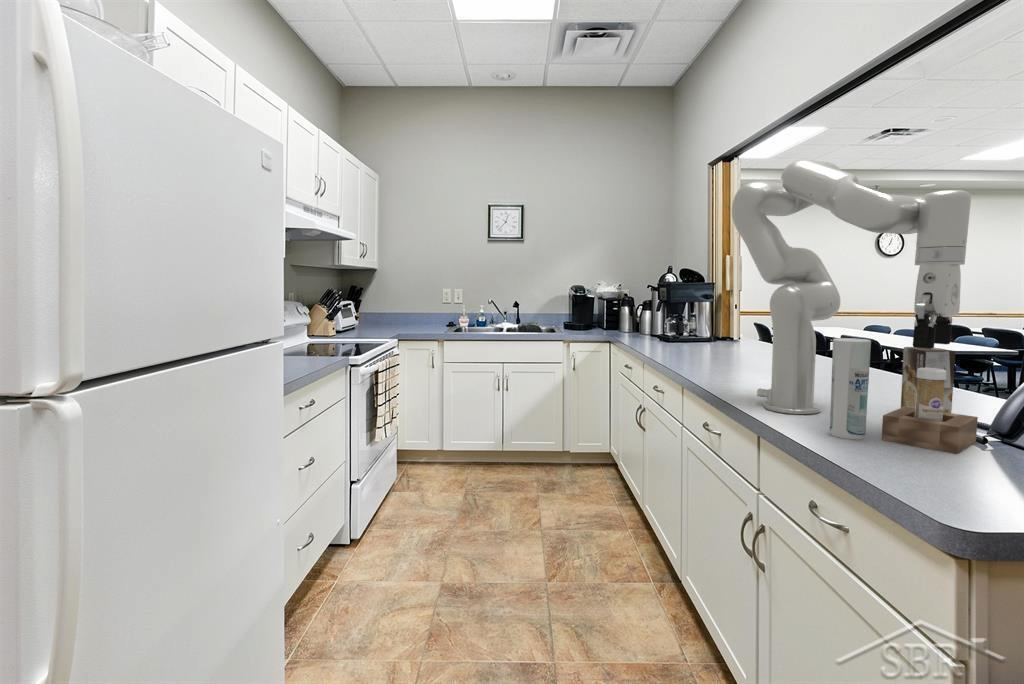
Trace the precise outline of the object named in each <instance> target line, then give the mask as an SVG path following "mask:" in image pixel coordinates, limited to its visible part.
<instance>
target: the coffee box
mask: <svg viewBox="0 0 1024 684" xmlns="http://www.w3.org/2000/svg"><path fill="white" fill-rule="evenodd" d="M902 353H903V355H902V356H903V357H902V376H901V396H900V397H901V398H900V408H902V407H911V408H915V399H916V392H917V377H916V376H917V369H918V368H938V369H944V370H946V379H945V382H944V383H945V384H944V400H943V412H946V413H952V410H953V409H952V407H953V394H954V378H955V377H954V376H955V363H956V350H950V349H945V348H939V347H934V348H932V349H929V348H917V347H913V346H905V347H903V352H902Z"/></svg>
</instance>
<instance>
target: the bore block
mask: <svg viewBox="0 0 1024 684" xmlns="http://www.w3.org/2000/svg"><path fill="white" fill-rule="evenodd" d="M914 415H915V408H911V407H902V408H901V407H900V408H898V409H895V410H893V411H890V412H888V413H885V414H883V415H882V422H881V423H882V425H881V428H882V429H881V440H883V441H888V442H893V443H897V444H898V443H899V444H903V445H909V446H913V447H919V448H923V449H924V448H925V449H930V450H935V451H939V452H944V453H951V454H956V455H959V453H961V452H963V451H964V450H966V449H968V448H969V447H970V446H972V445H973V444H975V443H976V442H977V432H978V418H979V416H972V415H965V414H959V413H953V412H951V413H946V412H943V420H942V421H936V420H929V419H923V418H916V417H914Z"/></svg>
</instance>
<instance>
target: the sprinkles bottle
mask: <svg viewBox="0 0 1024 684" xmlns="http://www.w3.org/2000/svg"><path fill="white" fill-rule="evenodd" d="M916 377H917V392H916V399H915V415H914V417H916V418H923V419H929V420H936V421H942V420H943V400H944V384H945V383H944V382H945V379H946V370H944V369H938V368H918V369H917V376H916Z"/></svg>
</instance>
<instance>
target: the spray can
mask: <svg viewBox="0 0 1024 684" xmlns="http://www.w3.org/2000/svg"><path fill="white" fill-rule="evenodd" d="M871 345H872V340H870V339H866V338H855V337H854V338H853V337H851V338H850V337H848V338H847V337H840V338H839V337H838V338H833V339H832V361H831V362H832V363H831V384H830V385H831V387H830V388H831V390H830V413H829V415H830V416H829V418H830V419H829V434H830V436H833V437H835V436H836V437H837V438H839V437H840V439H844V438H845V439H844V440H863V439H865V438H866V429H867V415H868V414H867V413H868V412H867V411H868V397H869V383H870V381H869V379H870V367H871V348H872V346H871Z"/></svg>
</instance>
